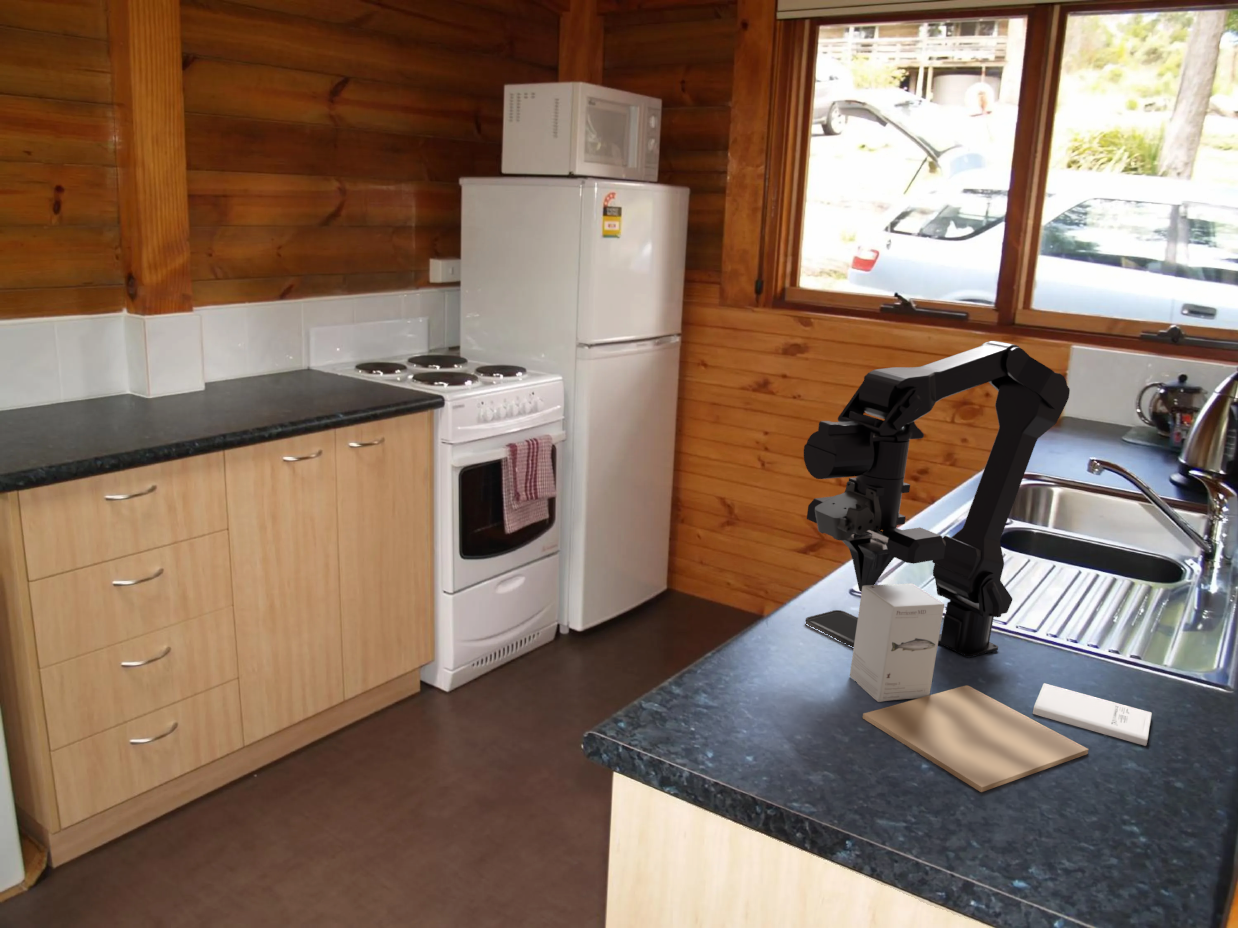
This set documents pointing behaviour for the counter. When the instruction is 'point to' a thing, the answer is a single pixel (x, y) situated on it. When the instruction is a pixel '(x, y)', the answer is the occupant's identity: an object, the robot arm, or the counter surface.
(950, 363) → the robot arm
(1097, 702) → the external hard drive
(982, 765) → the wooden cutting board
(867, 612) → the supplement box
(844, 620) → the phone
